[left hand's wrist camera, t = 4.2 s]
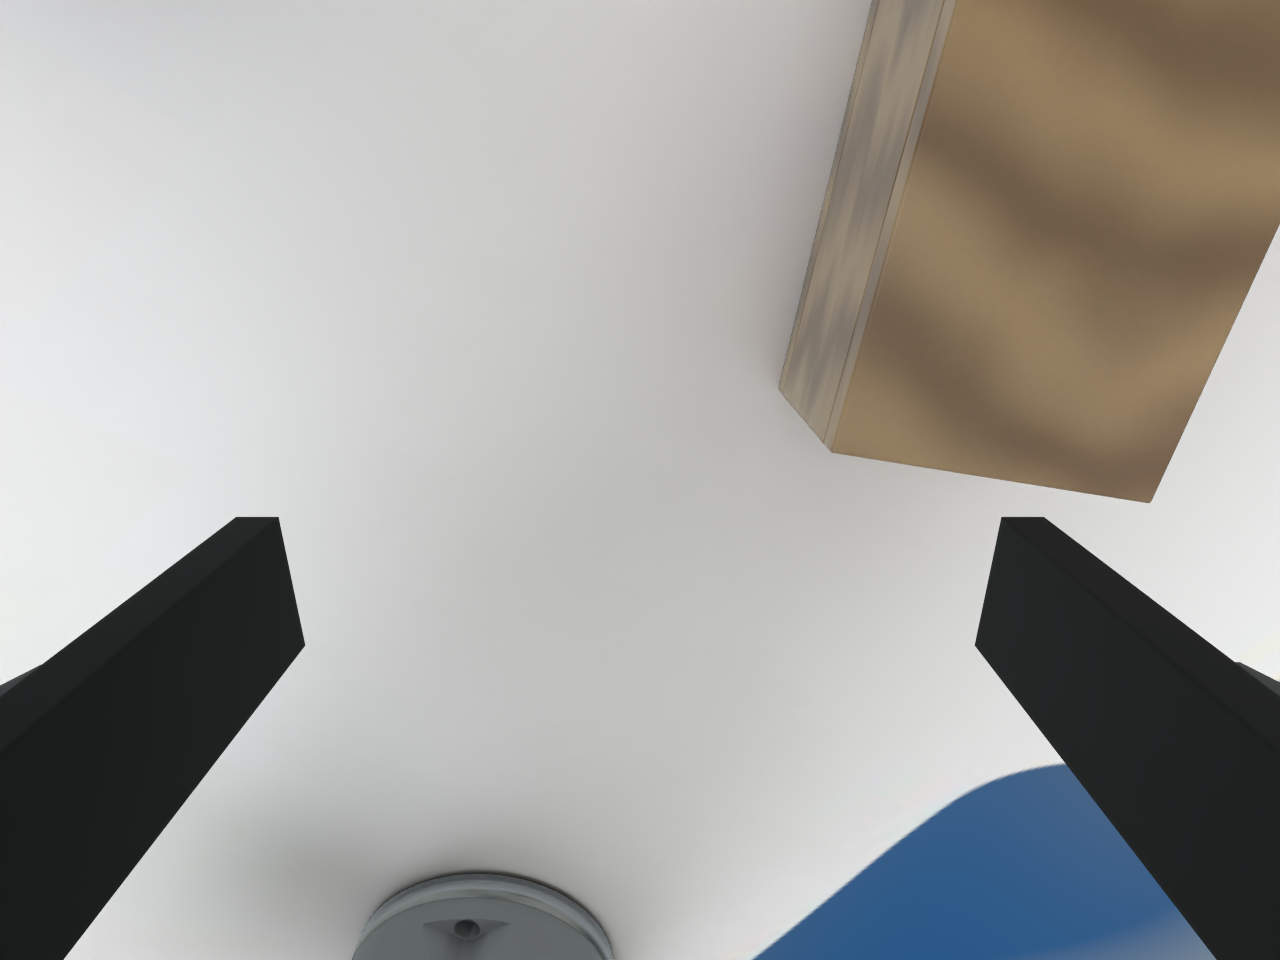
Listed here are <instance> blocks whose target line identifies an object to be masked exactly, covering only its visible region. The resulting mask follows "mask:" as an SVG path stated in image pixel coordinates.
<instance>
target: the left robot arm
mask: <svg viewBox="0 0 1280 960" xmlns="http://www.w3.org/2000/svg"><path fill="white" fill-rule="evenodd" d="M304 646H305V642H304V637H303V633H302V628H301V623H300V618H299V613H298V609H297V604H296V599H295V594H294V589H293V585H292V580H291V575H290V570H289V565H288V561H287V556H286V551H285V546H284V541H283V537H282V532H281V527H280V522H279V517H236V518H234V519H233V520H232V521H230V522H229V523H228V524H226V525H225V526H224V527H223V528H221V529H220V530H219V531H217V532H216V533H215V534H213V535H212V536H211V537H209V538H208V539H207V540H205V541H204V542H203V543H201V544H200V545H199V546H198V547H196V548H195V549H194V550H192V551H191V552H190V553H188V554H187V555H186V556H184V557H183V558H182V559H180V560H179V561H178V562H176V563H175V564H174V565H173V566H171V567H170V568H169V569H167V570H166V571H165V572H163V573H162V574H161V575H159V576H158V577H157V578H155V579H154V580H153V581H151V582H150V583H149V584H148V585H146V586H145V587H144V588H142V589H141V590H140V591H138V592H137V593H136V594H134V595H133V596H132V597H130V598H129V599H128V600H126V601H125V602H124V603H122V604H121V605H120V606H119V607H117V608H116V609H115V610H113V611H112V612H111V613H109V614H108V615H107V616H105V617H104V618H103V619H101V620H100V621H99V622H97V623H96V624H95V625H94V626H92V627H91V628H90V629H88V630H87V631H86V632H84V633H83V634H82V635H80V636H79V637H78V638H76V639H75V640H74V641H72V642H71V643H70V644H69V645H67V646H66V647H65V648H63V649H62V650H61V651H59V652H58V653H57V654H55V655H54V656H53V657H51V658H50V659H49V660H47V661H46V662H45V663H44V664H42V665H40V666H38V667H36V668H34V669H32V670H30V671H28V672H26V673H24V674H22V675H20V676H18V677H16V678H14V679H12V680H10V681H8V682H6V683H4V684H2V685H0V960H63V959H64V958H65V957H66V956H67V954H68V953H69V952H70V950H71V949H72V948H73V946H74V945H75V944H76V943H77V941H78V940H79V939H80V937H81V936H82V935H83V933H84V932H85V931H86V930H87V928H88V927H89V926H90V924H91V923H92V922H93V920H94V919H95V918H96V917H97V915H98V914H99V913H100V911H101V910H102V909H103V907H104V906H105V905H106V904H107V902H108V901H109V900H110V898H111V897H112V896H113V894H114V893H115V892H116V891H117V889H118V888H119V887H120V885H121V884H122V883H123V881H124V880H125V879H126V878H127V876H128V875H129V874H130V872H131V871H132V870H133V868H134V867H135V866H136V865H137V863H138V862H139V861H140V859H141V858H142V857H143V855H144V854H145V853H146V852H147V850H148V849H149V848H150V846H151V845H152V844H153V842H154V841H155V840H156V839H157V837H158V836H159V835H160V833H161V832H162V831H163V829H164V828H165V827H166V826H167V824H168V823H169V822H170V820H171V819H172V818H173V816H174V815H175V814H176V813H177V811H178V810H179V809H180V807H181V806H182V805H183V803H184V802H185V801H186V800H187V798H188V797H189V796H190V794H191V793H192V792H193V790H194V789H195V788H196V787H197V785H198V784H199V783H200V781H201V780H202V779H203V778H204V776H205V775H206V774H207V772H208V771H209V770H210V768H211V767H212V766H213V765H214V763H215V762H216V761H217V759H218V758H219V757H220V755H221V754H222V753H223V752H224V750H225V749H226V748H227V746H228V745H229V744H230V742H231V741H232V740H233V739H234V737H235V736H236V735H237V733H238V732H239V731H240V729H241V728H242V727H243V726H244V724H245V723H246V722H247V720H248V719H249V718H250V716H251V715H252V714H253V713H254V711H255V710H256V709H257V707H258V706H259V705H260V703H261V702H262V701H263V700H264V698H265V697H266V696H267V694H268V693H269V692H270V690H271V689H272V688H273V687H274V685H275V684H276V683H277V681H278V680H279V679H280V677H281V676H282V675H283V674H284V672H285V671H286V670H287V668H288V667H289V666H290V664H291V663H292V662H293V661H294V659H295V658H296V657H297V655H298V654H299V653H300V651H301V650H302V649H303V648H304ZM975 646H976V648H977V649H978V650H979V651H980V653H981V654H982V655H983V657H984V658H985V659H986V661H987V662H988V663H989V664H990V666H991V667H992V668H993V670H994V671H995V672H996V674H997V675H998V676H999V677H1000V679H1001V680H1002V681H1003V683H1004V684H1005V685H1006V687H1007V688H1008V689H1009V690H1010V692H1011V693H1012V694H1013V696H1014V697H1015V698H1016V700H1017V701H1018V702H1019V703H1020V705H1021V706H1022V707H1023V709H1024V710H1025V711H1026V713H1027V714H1028V715H1029V716H1030V718H1031V719H1032V720H1033V722H1034V723H1035V724H1036V726H1037V727H1038V728H1039V729H1040V731H1041V732H1042V733H1043V735H1044V736H1045V737H1046V739H1047V740H1048V741H1049V742H1050V744H1051V745H1052V746H1053V748H1054V749H1055V750H1056V752H1057V753H1058V754H1059V755H1060V757H1061V758H1062V759H1063V761H1064V762H1065V763H1066V765H1067V766H1068V767H1069V768H1070V770H1071V771H1072V772H1073V774H1074V775H1075V776H1076V777H1077V779H1078V780H1079V781H1080V783H1081V784H1082V785H1083V787H1084V788H1085V789H1086V790H1087V792H1088V793H1089V794H1090V796H1091V797H1092V798H1093V800H1094V801H1095V802H1096V803H1097V805H1098V806H1099V807H1100V809H1101V810H1102V811H1103V813H1104V814H1105V815H1106V816H1107V818H1108V819H1109V820H1110V822H1111V823H1112V824H1113V826H1114V827H1115V828H1116V829H1117V831H1118V832H1119V833H1120V835H1121V836H1122V837H1123V839H1124V840H1125V841H1126V842H1127V844H1128V845H1129V846H1130V848H1131V849H1132V850H1133V851H1134V853H1135V854H1136V855H1137V857H1138V858H1139V859H1140V861H1141V862H1142V863H1143V865H1144V866H1145V867H1146V868H1147V870H1148V871H1149V872H1150V874H1151V875H1152V876H1153V878H1154V879H1155V880H1156V881H1157V883H1158V884H1159V885H1160V887H1161V888H1162V889H1163V891H1164V892H1165V893H1166V894H1167V896H1168V897H1169V898H1170V900H1171V901H1172V902H1173V904H1174V905H1175V906H1176V907H1177V909H1178V910H1179V911H1180V913H1181V914H1182V915H1183V917H1184V918H1185V919H1186V920H1187V922H1188V923H1189V924H1190V926H1191V927H1192V928H1193V930H1194V931H1195V932H1196V933H1197V935H1198V936H1199V937H1200V939H1201V940H1202V941H1203V943H1204V944H1205V945H1206V946H1207V948H1208V949H1209V950H1210V952H1211V953H1212V954H1213V955H1214V957H1215V958H1216V959H1217V960H1280V682H1278V681H1276V680H1274V679H1272V678H1270V677H1268V676H1266V675H1264V674H1262V673H1260V672H1258V671H1256V670H1254V669H1252V668H1250V667H1248V666H1246V665H1244V664H1242V663H1240V662H1234V661H1233V660H1231V659H1230V658H1229V657H1227V656H1226V655H1225V654H1223V653H1222V652H1221V651H1219V650H1218V649H1217V648H1215V647H1214V646H1213V645H1211V644H1210V643H1209V642H1208V641H1206V640H1205V639H1204V638H1202V637H1201V636H1200V635H1198V634H1197V633H1196V632H1194V631H1193V630H1192V629H1190V628H1189V627H1188V626H1186V625H1185V624H1184V623H1183V622H1181V621H1180V620H1179V619H1177V618H1176V617H1175V616H1173V615H1172V614H1171V613H1169V612H1168V611H1167V610H1165V609H1164V608H1163V607H1161V606H1160V605H1159V604H1158V603H1156V602H1155V601H1154V600H1152V599H1151V598H1150V597H1148V596H1147V595H1146V594H1144V593H1143V592H1142V591H1140V590H1139V589H1138V588H1136V587H1135V586H1134V585H1132V584H1131V583H1130V582H1129V581H1127V580H1126V579H1125V578H1123V577H1122V576H1121V575H1119V574H1118V573H1117V572H1115V571H1114V570H1113V569H1111V568H1110V567H1109V566H1107V565H1106V564H1105V563H1104V562H1102V561H1101V560H1100V559H1098V558H1097V557H1096V556H1094V555H1093V554H1092V553H1090V552H1089V551H1088V550H1086V549H1085V548H1084V547H1082V546H1081V545H1080V544H1079V543H1077V542H1076V541H1075V540H1073V539H1072V538H1071V537H1069V536H1068V535H1067V534H1065V533H1064V532H1063V531H1061V530H1060V529H1059V528H1057V527H1056V526H1055V525H1054V524H1052V523H1051V522H1050V521H1048V520H1047V519H1046V518H1044V517H1001V522H1000V527H999V532H998V537H997V541H996V546H995V551H994V556H993V561H992V565H991V570H990V575H989V580H988V585H987V589H986V594H985V599H984V604H983V609H982V613H981V618H980V623H979V628H978V633H977V637H976V642H975ZM352 960H614V957H613V953H612V949H611V946H610V944H609V941H608V939H607V937H606V935H605V933H604V932H603V930H602V929H601V927H600V926H599V925H598V923H597V922H596V921H595V920H594V919H593V918H592V917H591V915H589V914H588V913H587V912H586V911H585V910H584V909H583V908H582V907H580V906H579V905H578V904H576V903H575V902H574V901H572V900H570V899H569V898H567V897H566V896H564V895H562V894H560V893H558V892H556V891H554V890H552V889H550V888H547V887H545V886H543V885H540V884H537V883H534V882H531V881H527V880H523V879H519V878H515V877H509V876H503V875H494V874H460V875H451V876H445V877H440V878H436V879H432V880H429V881H425V882H422V883H419V884H417V885H414V886H412V887H410V888H408V889H406V890H403V891H402V892H400V893H398V894H397V895H395V896H393V897H392V898H391V899H389V900H388V901H387V902H385V903H384V904H383V905H382V906H381V907H380V908H379V909H378V910H377V911H376V912H375V913H374V914H373V915H372V917H371V918H370V919H369V921H368V923H367V924H366V926H365V928H364V930H363V932H362V934H361V937H360V940H359V942H358V945H357V947H356V950H355V953H354V955H353V958H352Z"/></svg>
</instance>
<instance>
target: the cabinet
mask: <svg viewBox="0 0 1280 960" xmlns="http://www.w3.org/2000/svg"><path fill="white" fill-rule="evenodd" d="M1279 224H1280V0H873V1H872V5H871V9H870V14H869V18H868V22H867V26H866V30H865V34H864V38H863V42H862V47H861V51H860V55H859V59H858V63H857V67H856V71H855V75H854V80H853V84H852V88H851V92H850V96H849V100H848V104H847V108H846V113H845V117H844V121H843V125H842V129H841V133H840V137H839V141H838V145H837V150H836V154H835V158H834V162H833V166H832V170H831V174H830V178H829V183H828V187H827V191H826V195H825V199H824V203H823V207H822V211H821V216H820V220H819V224H818V228H817V232H816V236H815V240H814V244H813V249H812V253H811V257H810V261H809V265H808V269H807V273H806V277H805V282H804V286H803V290H802V294H801V298H800V302H799V306H798V310H797V315H796V319H795V323H794V327H793V331H792V335H791V339H790V343H789V348H788V352H787V356H786V360H785V364H784V368H783V372H782V376H781V381H780V385H779V391H780V392H781V393H782V394H783V396H784V397H785V398H786V399H787V401H788V402H789V403H790V404H791V405H792V407H793V408H794V409H795V410H796V411H797V413H798V414H799V415H800V416H801V417H802V419H803V420H804V421H805V422H806V423H807V425H808V426H809V427H810V428H811V429H812V430H813V432H814V433H815V434H816V435H817V436H818V438H819V439H820V440H821V441H822V442H823V443H824V444H825V445H826V446H827V448H828V449H829V450H830V451H831V452H832V453H837V454H843V455H850V456H856V457H862V458H868V459H875V460H881V461H887V462H894V463H900V464H906V465H912V466H919V467H925V468H931V469H937V470H944V471H950V472H956V473H962V474H969V475H975V476H981V477H987V478H994V479H1000V480H1006V481H1012V482H1019V483H1025V484H1031V485H1037V486H1044V487H1050V488H1056V489H1062V490H1069V491H1075V492H1081V493H1088V494H1094V495H1100V496H1106V497H1113V498H1119V499H1125V500H1131V501H1138V502H1144V503H1150V502H1151V501H1152V499H1153V496H1154V494H1155V492H1156V490H1157V488H1158V486H1159V483H1160V481H1161V479H1162V477H1163V475H1164V473H1165V470H1166V468H1167V466H1168V464H1169V462H1170V460H1171V458H1172V455H1173V453H1174V451H1175V449H1176V447H1177V445H1178V442H1179V440H1180V438H1181V436H1182V434H1183V432H1184V429H1185V427H1186V425H1187V423H1188V421H1189V419H1190V417H1191V414H1192V412H1193V410H1194V408H1195V406H1196V404H1197V401H1198V399H1199V397H1200V395H1201V393H1202V391H1203V388H1204V386H1205V384H1206V382H1207V380H1208V378H1209V376H1210V373H1211V371H1212V369H1213V367H1214V365H1215V363H1216V360H1217V358H1218V356H1219V354H1220V352H1221V350H1222V347H1223V345H1224V343H1225V341H1226V339H1227V337H1228V335H1229V332H1230V330H1231V328H1232V326H1233V324H1234V322H1235V319H1236V317H1237V315H1238V313H1239V311H1240V309H1241V306H1242V304H1243V302H1244V300H1245V298H1246V296H1247V294H1248V291H1249V289H1250V287H1251V285H1252V283H1253V281H1254V278H1255V276H1256V274H1257V272H1258V270H1259V268H1260V265H1261V263H1262V261H1263V259H1264V257H1265V255H1266V253H1267V250H1268V248H1269V246H1270V244H1271V242H1272V240H1273V237H1274V235H1275V233H1276V231H1277V229H1278V227H1279Z"/></svg>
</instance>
